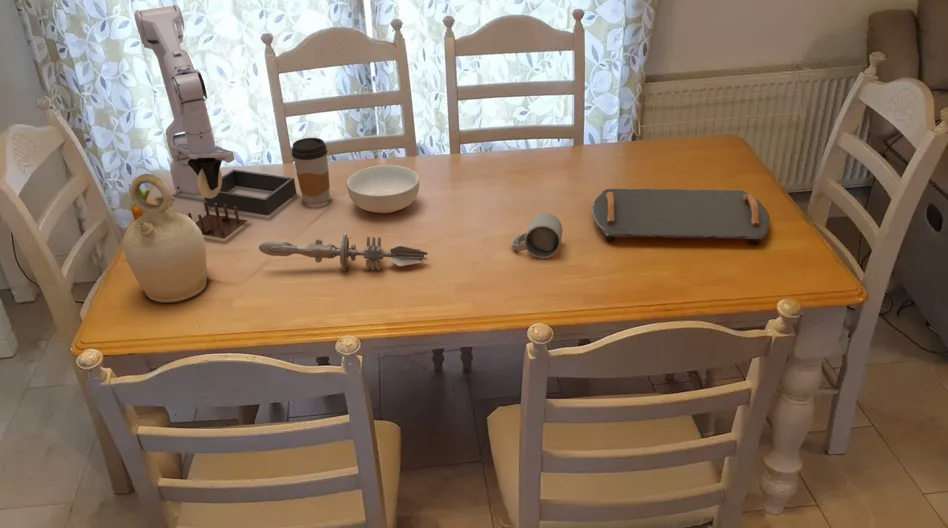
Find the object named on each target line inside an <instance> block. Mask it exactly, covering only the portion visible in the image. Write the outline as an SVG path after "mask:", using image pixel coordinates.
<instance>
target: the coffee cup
mask: <svg viewBox="0 0 948 528" xmlns="http://www.w3.org/2000/svg"><path fill="white" fill-rule="evenodd" d="M327 147H328V146H327V144H326V143H325V141H324V139H322V138H319V137H305V138H301V139H297V140H296V141H294V142H293V143H292V148H291V156H292V158H293V162H294V166H295V172H296V176H297V180H298V185H299V189H300V192H301V196H302V200H303V201H304V203H306V204H309V205H310V204H311V205H318V204H323V203H325V202H327V201H330V200H331V190H330V170H329V163H328V161H329V160H328V152H329V151H328V149H327Z"/></svg>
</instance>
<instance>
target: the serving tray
mask: <svg viewBox="0 0 948 528" xmlns="http://www.w3.org/2000/svg"><path fill="white" fill-rule="evenodd" d="M591 209H592V211H591V212H592V218H593V221H594V222H595V224H596V225H597V227H598V228H599V229H600V230H601V232H603V234H604V235H605V239H606V241H607V242H608V243H614V241H615V240H616V238H617V237H618V238H619V237H626V238H628V237H629V238H630V237H631V238H670V239H671V238H679V239H680V238H681V239H726V240H727V239H729V240H730V239H732V240H733V239H734V240H735V239H737V240H750V242H751V245H753V246H759V245H760V244H761V242H762V240H763V239H764V238H766V236H767V235H768V233H769V230H770V227H771V223H770V215H769V213H768V210H767V209H766V207H765V206H763V204H762V202H760V200H758V199H757V198H756V197H755V195H754V193H749V192H747V191H744V190H729V189H724V190H723V189H720V190H718V189H680V188H679V189H677V188H675V189H673V188H672V189H671V188H670V189H668V188H667V189H665V188H664V189H663V188H662V189H661V188H660V189H656V188H653V189H650V188H637V189H636V188H631V189H629V188H607V189H604V190H603V191H602V192H601V193H600V194H599V195H598V196H597V198H596V199H595V200H594V203H593V205H592V206H591Z"/></svg>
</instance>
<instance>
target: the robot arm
mask: <svg viewBox="0 0 948 528" xmlns="http://www.w3.org/2000/svg"><path fill="white" fill-rule="evenodd" d="M133 17H134V20H135V25H136V28H137V31H138V35H139V38H140V41H141V44H142V45H143V48H145V49H148V50H152V51H153V54H154V55H155V57H156V58H157V62H158V66H159V69H160V74H161V78H162V81H163V84H164V88H165V91H166V95H167V99H168V103H169V107H170V110H171V113H172V117H173V121H172V122H171V123H170V124H169V125H168V126H167V128H166V129H165V136H166V143H167V147H168V151H169V154H170V157H171V159H172V160H171V162H170V170H169V171H170V176H171V180H172V184H173V188H174V193H173V195H177V194H178V193H180V192H181V193H186V194H188V195H194V196H195V195H196V196H197V195H201V194H200V192H199V189H198V175H199V172H200V170H201V169H203V171H204V173H205V175H206V178H207V181H208V185H209V188H210V190H214V189H215V188H217V187H218V176H219V169H220V170H221V165H222V163H223V162H225V163H226V164H227V163H228V164H230V163H232V162H234V161H235V154H234V151H232V150H228V149H226V148H223V147H221V146H218V145H216V142H215V136H214V132H213V128H212V123H211V118H210V113H209V109H208V104H207V99H208V90H207V86H206V81H205V79H204V77H203V75H202V73H201V71H200V70H199V69H198V68H196V66H195V64H194V62H193V59H192V57H191V55H190V53H189V52H188V51H187V50H186V49H182V45H181V44H182V43H184V41H185V33H186V24H185V20H184V16H183V13H182V10H181V8H180V7H179V6H178V5H177V4H173V5H170V6H163V7H157V8H155V7H154V8H148V9H141V10H139V9H137V10H135V12H134V16H133Z"/></svg>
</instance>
